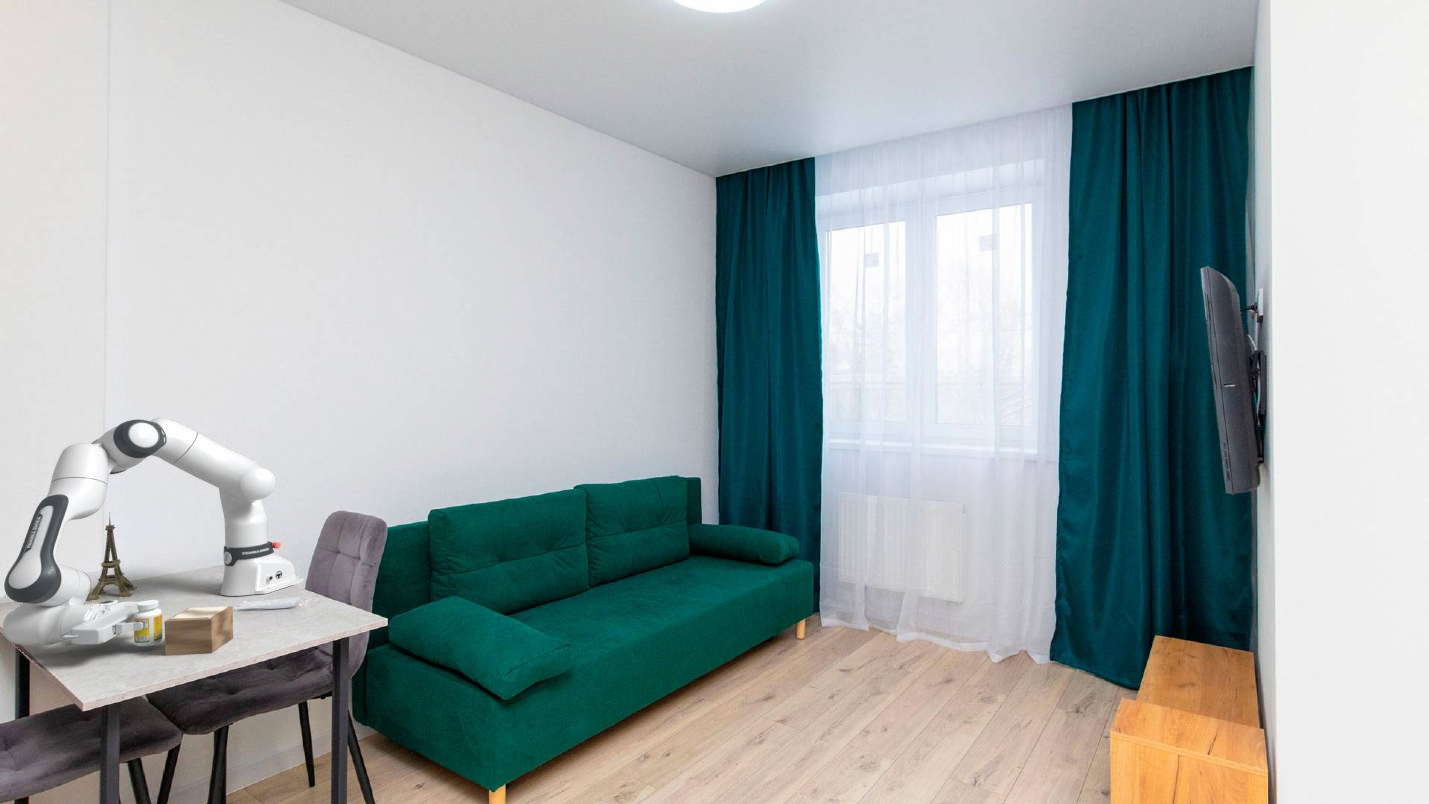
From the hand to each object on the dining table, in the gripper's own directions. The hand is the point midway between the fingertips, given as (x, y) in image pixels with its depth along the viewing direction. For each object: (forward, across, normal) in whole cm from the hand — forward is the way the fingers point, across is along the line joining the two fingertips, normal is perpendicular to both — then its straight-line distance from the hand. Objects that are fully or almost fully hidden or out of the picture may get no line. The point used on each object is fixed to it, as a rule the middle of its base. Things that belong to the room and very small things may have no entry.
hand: (152, 620), depth 175 cm
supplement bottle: (-1, 0, +5) cm, 5 cm away
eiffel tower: (-40, +51, +7) cm, 65 cm away
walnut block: (+10, 0, +7) cm, 12 cm away
